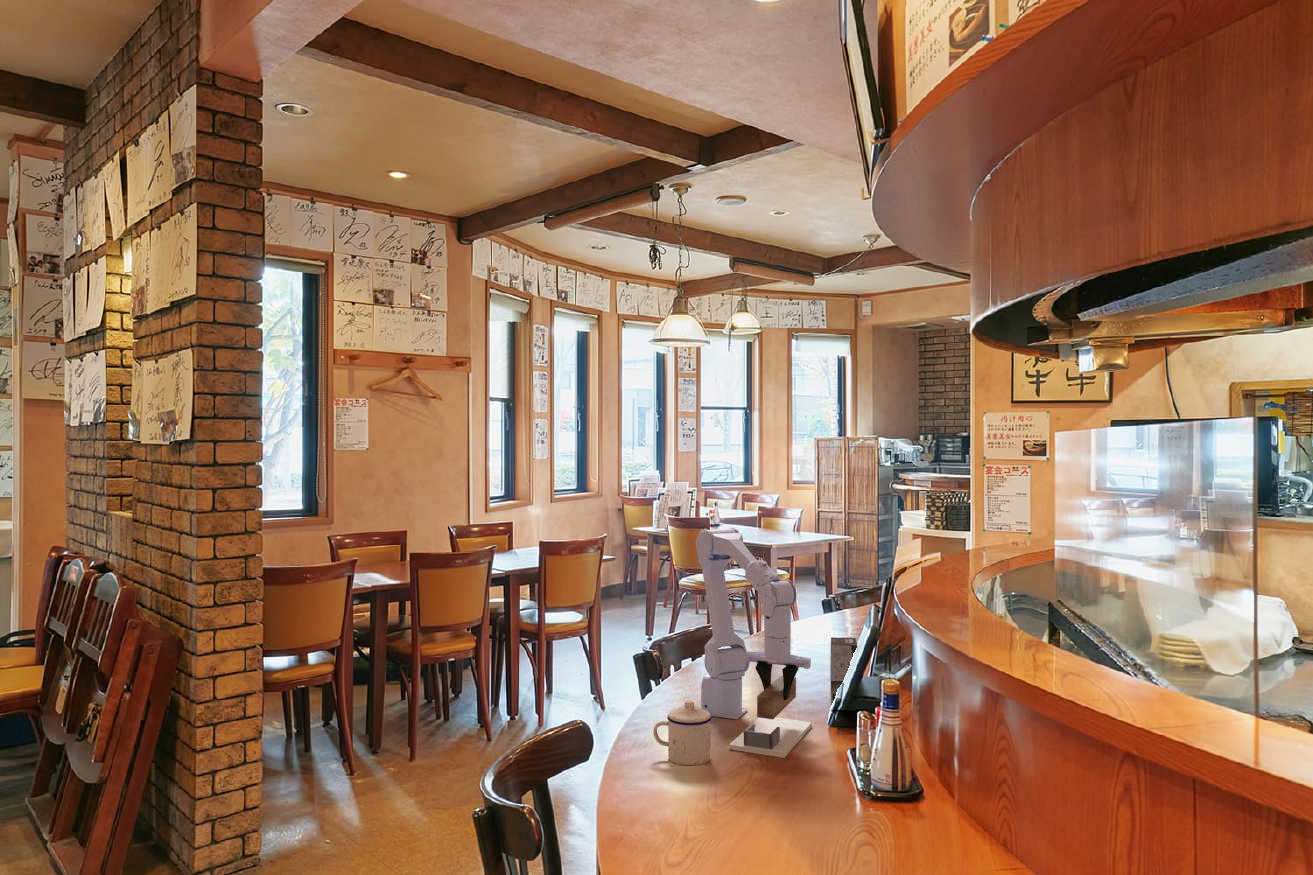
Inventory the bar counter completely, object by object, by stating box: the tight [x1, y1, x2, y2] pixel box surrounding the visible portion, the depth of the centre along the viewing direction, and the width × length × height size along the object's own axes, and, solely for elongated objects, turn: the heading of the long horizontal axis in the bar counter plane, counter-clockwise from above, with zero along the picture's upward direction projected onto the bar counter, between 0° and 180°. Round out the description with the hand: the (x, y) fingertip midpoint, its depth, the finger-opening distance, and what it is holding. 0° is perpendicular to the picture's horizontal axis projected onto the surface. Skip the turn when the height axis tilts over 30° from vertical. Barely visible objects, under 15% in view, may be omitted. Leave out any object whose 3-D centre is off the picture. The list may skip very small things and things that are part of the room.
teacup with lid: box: [652, 700, 713, 766], centre depth 181 cm, size 12×9×12 cm
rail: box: [756, 675, 797, 719], centre depth 194 cm, size 4×18×4 cm, turn 156°
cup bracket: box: [728, 716, 813, 759], centre depth 194 cm, size 12×22×4 cm, turn 155°
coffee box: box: [829, 636, 858, 706], centre depth 218 cm, size 9×6×16 cm
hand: (777, 697), depth 194 cm, fingers closed on rail, 3 cm apart
